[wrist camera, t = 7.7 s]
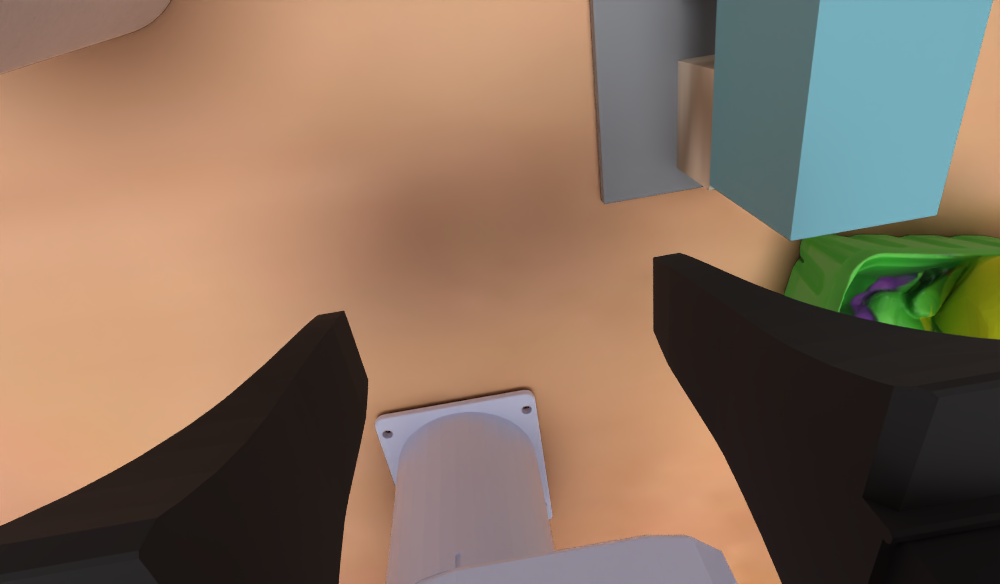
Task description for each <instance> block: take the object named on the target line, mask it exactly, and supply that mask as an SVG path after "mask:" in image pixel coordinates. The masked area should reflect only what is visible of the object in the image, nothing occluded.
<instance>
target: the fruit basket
mask: <svg viewBox="0 0 1000 584" xmlns="http://www.w3.org/2000/svg"><path fill="white" fill-rule="evenodd" d="M800 256H801V258H799V259H798V260H797V262H796V264H795V265H794V267H793V269H792V272H791V275H790V278H789V281H788V284H787V287H786V290H785V293H784V296H787V297H790V298H793V299H795V300H798V301H802V302H805V303H808V304H811V305H814V306H818V307H821V308H825V309H828V310H832V311H836V312H839V313H843V314H846V315H851V316H855V317H859V318H863V319H868V320H873V321H877V322H882V323H887V324H892V325H897V326H902V327H908V328H914V329H920V330H926V331H932V332H940V333H947V334H954V335H961V336H969V337H977V338H989V339H1000V238H995V237H989V236H982V235H958V236H954V237H950V238H948V237H943V236H938V235H906V236H903V237H894V236H890V235H864V234H860V235H854V236H850V237H844V236H839V235H835V234H827V235H822V236H816V237H810V238H805V239H802V241H801V244H800Z"/></svg>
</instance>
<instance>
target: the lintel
mask: <svg viewBox="0 0 1000 584" xmlns="http://www.w3.org/2000/svg"><path fill="white" fill-rule="evenodd" d="M992 2H993V0H717V14H716V39H715V63H714V87H713V111H712V136H711V160H710V184H709V185H710V186H711V187H713V188H714V189H715V190H717V191H718V192H720V193H721V194H723V195H724V196H726V197H727V198H729V199H730V200H731V201H733V202H734V203H736V204H737V205H739V206H740V207H742V208H743V209H745V210H746V211H747V212H749V213H750V214H752V215H753V216H755V217H756V218H758V219H759V220H760V221H762V222H763V223H765V224H766V225H768V226H769V227H771V228H772V229H774V230H775V231H776V232H778V233H779V234H781V235H782V236H784V237H785V238H787V239H788V240H790V241H793V240H799V239H805V238H810V237H816V236H822V235H827V234H833V233H839V232H844V231H850V230H856V229H861V228H867V227H873V226H878V225H884V224H890V223H896V222H901V221H907V220H913V219H918V218H924V217H930V216H935V215H937V212H938V209H939V205H940V201H941V197H942V193H943V189H944V186H945V182H946V178H947V174H948V170H949V167H950V163H951V159H952V155H953V151H954V147H955V144H956V140H957V136H958V132H959V128H960V125H961V121H962V117H963V113H964V109H965V105H966V102H967V98H968V94H969V90H970V86H971V82H972V79H973V75H974V71H975V67H976V63H977V60H978V56H979V52H980V48H981V44H982V40H983V37H984V33H985V29H986V25H987V21H988V17H989V14H990V10H991V6H992Z"/></svg>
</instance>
